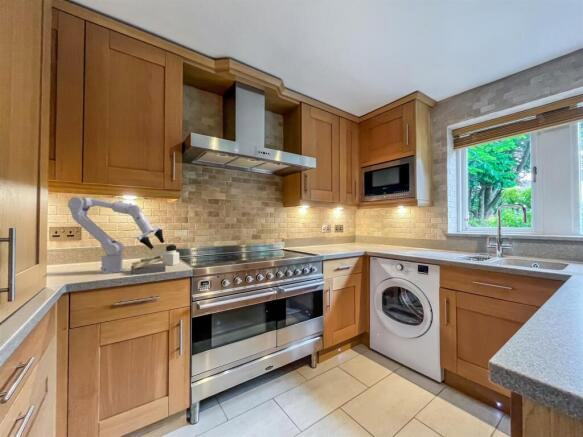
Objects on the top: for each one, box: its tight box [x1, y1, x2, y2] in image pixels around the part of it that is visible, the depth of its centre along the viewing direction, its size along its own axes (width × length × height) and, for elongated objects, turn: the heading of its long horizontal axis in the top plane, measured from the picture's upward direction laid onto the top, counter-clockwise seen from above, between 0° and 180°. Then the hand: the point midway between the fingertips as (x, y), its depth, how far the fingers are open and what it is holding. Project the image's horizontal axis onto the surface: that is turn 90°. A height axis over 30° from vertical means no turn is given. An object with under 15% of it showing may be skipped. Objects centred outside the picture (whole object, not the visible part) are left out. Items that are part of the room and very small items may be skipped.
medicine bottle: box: [161, 244, 180, 266], centre depth 160 cm, size 7×7×12 cm
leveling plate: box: [131, 255, 164, 269], centre depth 140 cm, size 14×12×3 cm
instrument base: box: [130, 262, 166, 276], centre depth 140 cm, size 15×13×3 cm
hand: (157, 245), depth 145 cm, fingers open, 7 cm apart
